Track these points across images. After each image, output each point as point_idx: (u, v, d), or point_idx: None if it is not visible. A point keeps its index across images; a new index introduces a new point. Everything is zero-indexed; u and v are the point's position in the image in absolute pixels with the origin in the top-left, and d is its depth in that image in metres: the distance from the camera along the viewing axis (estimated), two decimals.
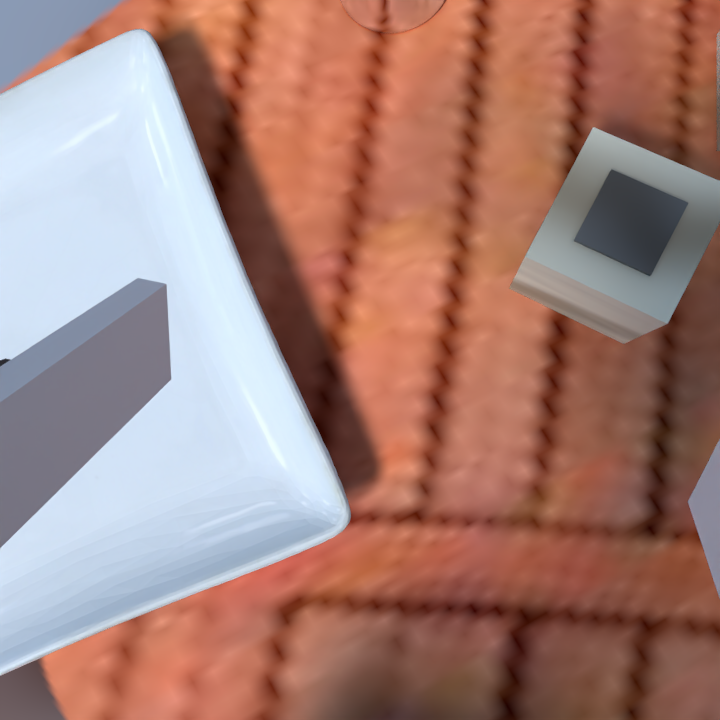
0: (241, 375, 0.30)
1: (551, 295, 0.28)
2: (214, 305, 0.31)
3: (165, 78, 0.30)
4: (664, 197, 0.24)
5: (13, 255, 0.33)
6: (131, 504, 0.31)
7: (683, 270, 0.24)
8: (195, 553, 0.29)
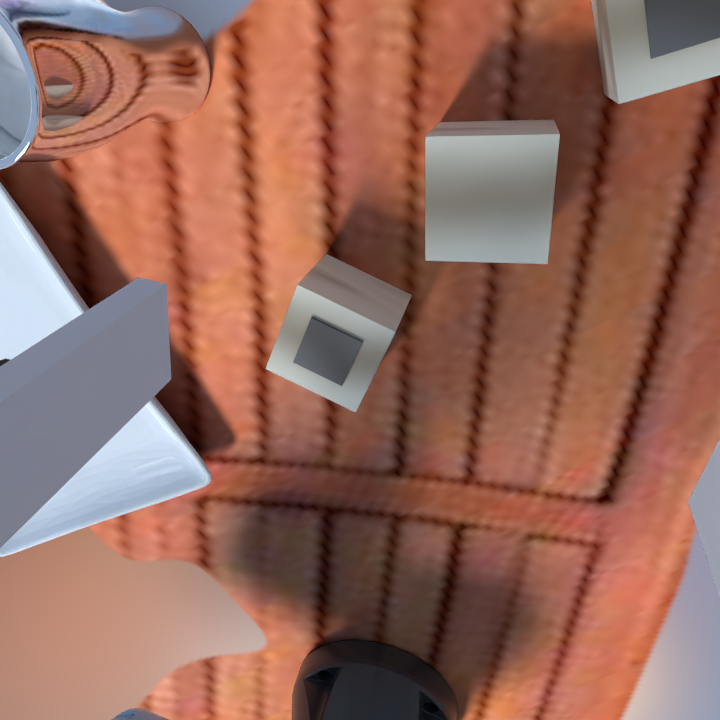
0: None
1: None
2: None
3: (6, 200, 0.39)
4: (346, 338, 0.34)
5: None
6: None
7: (363, 382, 0.36)
8: (137, 484, 0.50)
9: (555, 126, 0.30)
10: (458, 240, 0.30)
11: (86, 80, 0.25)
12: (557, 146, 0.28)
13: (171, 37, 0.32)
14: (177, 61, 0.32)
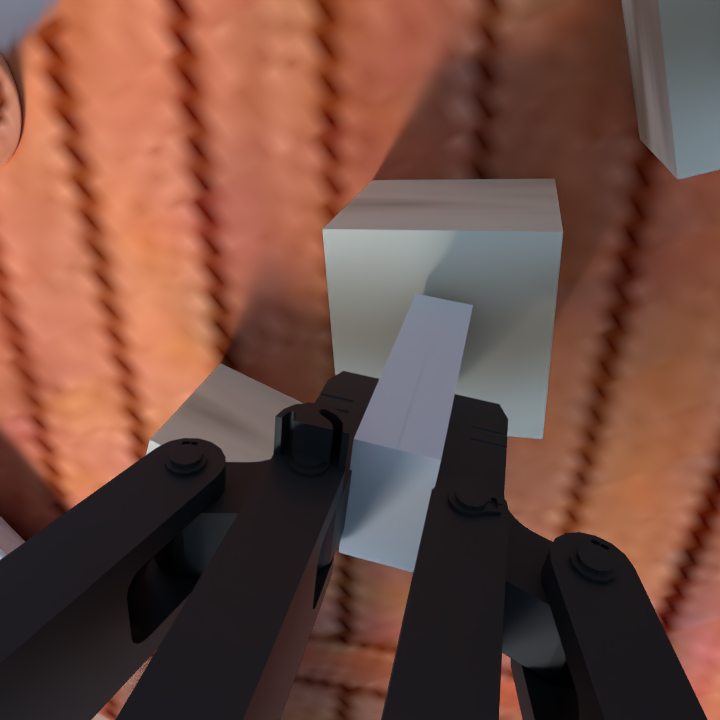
0: None
1: None
2: None
3: None
4: None
5: None
6: None
7: None
8: None
9: (556, 202, 0.17)
10: None
11: None
12: (558, 253, 0.15)
13: None
14: None
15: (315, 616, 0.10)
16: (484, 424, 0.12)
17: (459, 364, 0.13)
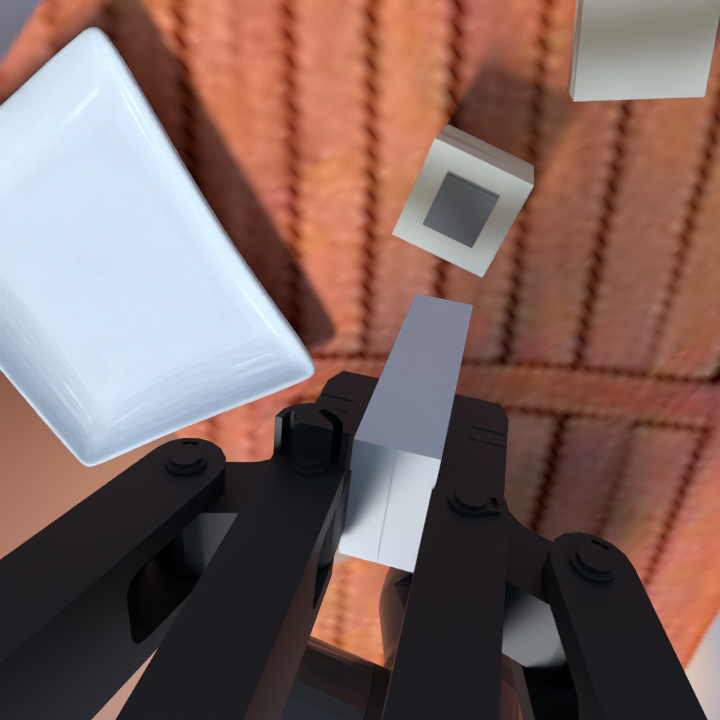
0: (237, 281, 0.46)
1: None
2: (209, 236, 0.45)
3: (126, 74, 0.39)
4: (482, 194, 0.34)
5: (66, 199, 0.47)
6: (192, 352, 0.51)
7: (493, 243, 0.36)
8: (234, 382, 0.50)
9: None
10: (611, 75, 0.30)
11: None
12: None
13: None
14: None
15: (315, 616, 0.10)
16: (484, 424, 0.12)
17: (459, 364, 0.13)
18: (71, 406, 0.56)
